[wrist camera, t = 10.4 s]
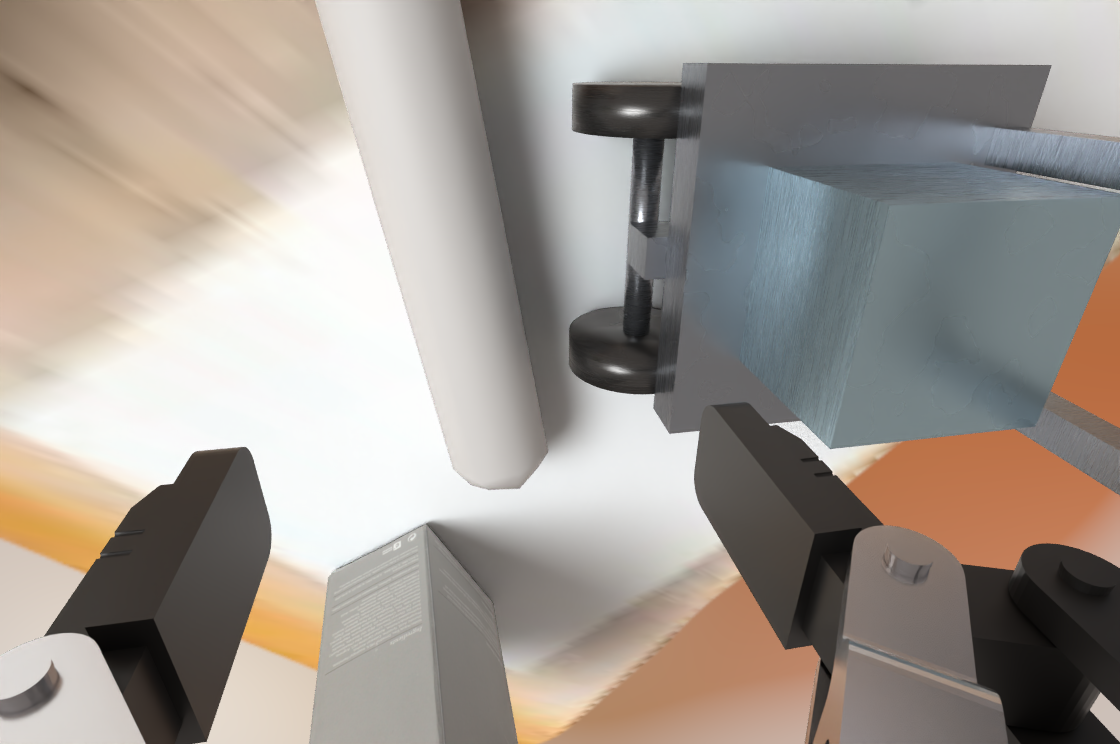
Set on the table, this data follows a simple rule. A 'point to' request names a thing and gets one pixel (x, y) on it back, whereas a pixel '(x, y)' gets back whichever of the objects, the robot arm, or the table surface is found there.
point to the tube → (442, 224)
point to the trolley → (856, 252)
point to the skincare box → (410, 652)
